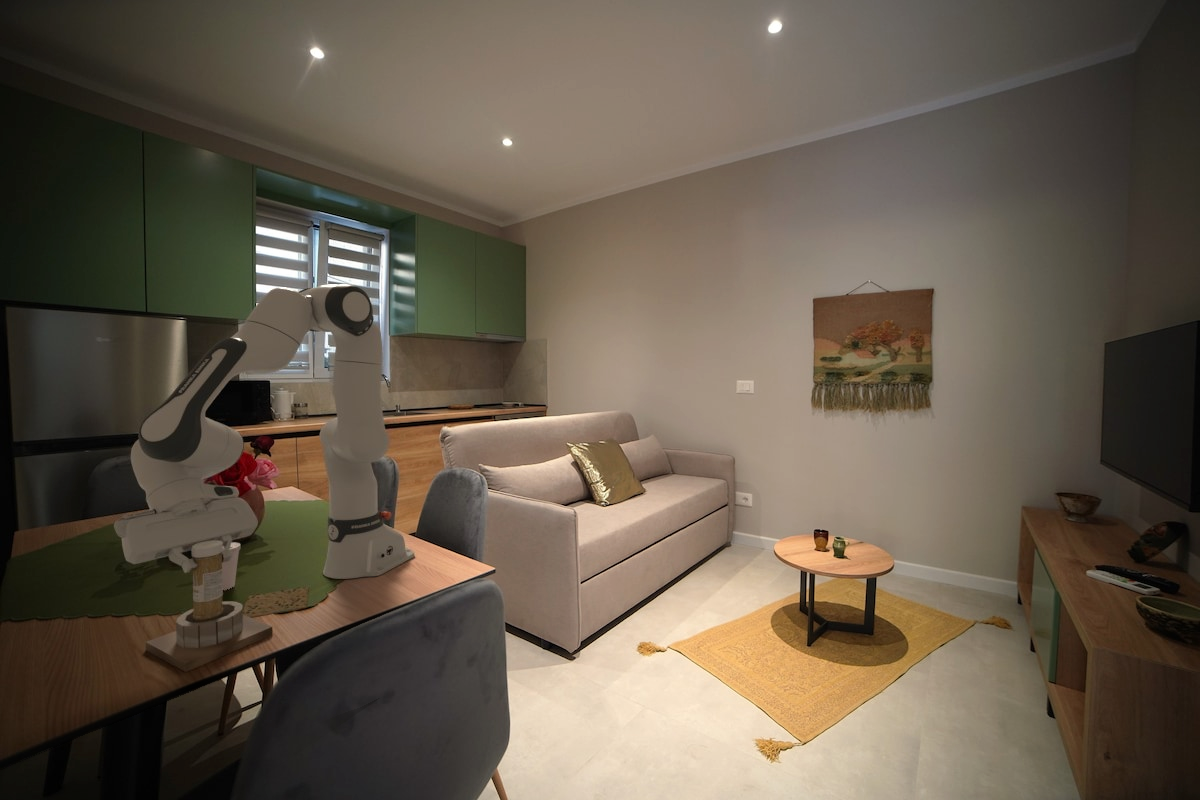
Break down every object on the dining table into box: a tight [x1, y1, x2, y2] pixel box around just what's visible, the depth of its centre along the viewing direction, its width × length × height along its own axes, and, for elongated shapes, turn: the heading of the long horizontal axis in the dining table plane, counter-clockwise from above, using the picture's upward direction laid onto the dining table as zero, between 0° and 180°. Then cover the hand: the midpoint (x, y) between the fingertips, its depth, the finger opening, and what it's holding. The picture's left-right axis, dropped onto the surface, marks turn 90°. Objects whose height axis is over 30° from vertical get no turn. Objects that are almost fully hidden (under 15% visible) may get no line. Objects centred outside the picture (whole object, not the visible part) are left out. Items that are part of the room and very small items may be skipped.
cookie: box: [243, 586, 310, 619], centre depth 110 cm, size 12×12×1 cm
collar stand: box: [145, 600, 274, 673], centre depth 93 cm, size 14×14×6 cm
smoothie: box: [222, 541, 241, 591], centre depth 116 cm, size 6×6×14 cm
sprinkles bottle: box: [190, 540, 224, 620], centre depth 93 cm, size 5×5×14 cm
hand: (209, 565), depth 92 cm, fingers closed on sprinkles bottle, 4 cm apart
